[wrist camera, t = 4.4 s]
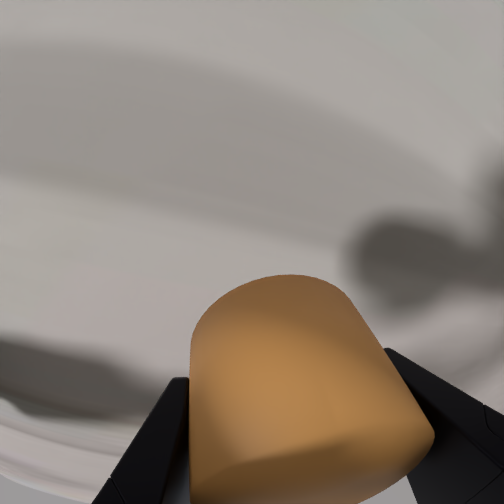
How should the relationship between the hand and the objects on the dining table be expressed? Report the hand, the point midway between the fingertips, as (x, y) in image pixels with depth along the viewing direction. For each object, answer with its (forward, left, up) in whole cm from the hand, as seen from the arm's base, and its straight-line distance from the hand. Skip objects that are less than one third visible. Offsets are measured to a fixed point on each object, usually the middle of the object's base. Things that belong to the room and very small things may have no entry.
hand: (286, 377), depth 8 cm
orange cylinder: (0, 0, -1) cm, 1 cm away
